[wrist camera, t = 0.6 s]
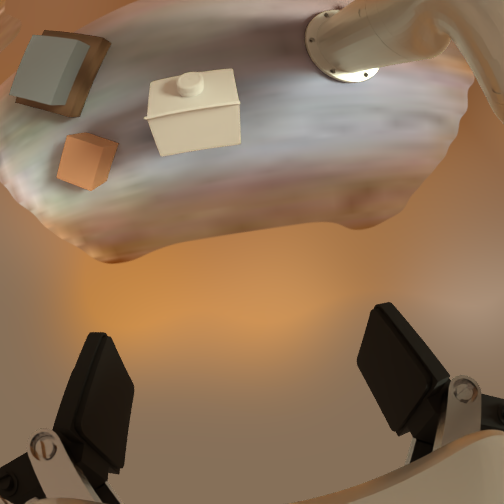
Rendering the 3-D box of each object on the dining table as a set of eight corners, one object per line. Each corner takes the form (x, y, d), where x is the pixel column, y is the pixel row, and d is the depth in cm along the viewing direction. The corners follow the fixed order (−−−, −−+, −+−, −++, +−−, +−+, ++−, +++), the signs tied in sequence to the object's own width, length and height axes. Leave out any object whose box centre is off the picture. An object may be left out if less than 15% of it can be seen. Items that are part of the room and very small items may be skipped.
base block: (56, 35, 24) (44, 30, 20) (112, 44, 27) (103, 37, 24) (28, 102, 28) (15, 102, 25) (81, 116, 32) (69, 117, 28)
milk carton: (231, 135, 36) (245, 148, 19) (181, 143, 36) (150, 163, 19) (226, 87, 33) (235, 57, 16) (174, 95, 33) (138, 74, 16)
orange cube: (86, 132, 33) (67, 135, 27) (118, 143, 34) (103, 147, 29) (75, 169, 35) (56, 177, 30) (106, 180, 37) (90, 191, 31)
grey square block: (46, 39, 21) (32, 34, 18) (90, 46, 24) (78, 40, 20) (24, 94, 25) (9, 94, 21) (65, 105, 27) (50, 105, 24)
